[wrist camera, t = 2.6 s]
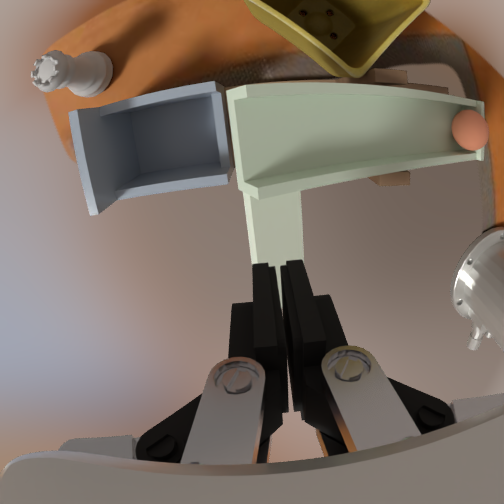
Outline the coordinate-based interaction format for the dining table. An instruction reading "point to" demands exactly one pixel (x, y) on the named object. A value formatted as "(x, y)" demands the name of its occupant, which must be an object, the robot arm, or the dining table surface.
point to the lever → (329, 147)
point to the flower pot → (339, 28)
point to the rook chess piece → (73, 72)
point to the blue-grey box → (153, 144)
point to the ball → (470, 130)
